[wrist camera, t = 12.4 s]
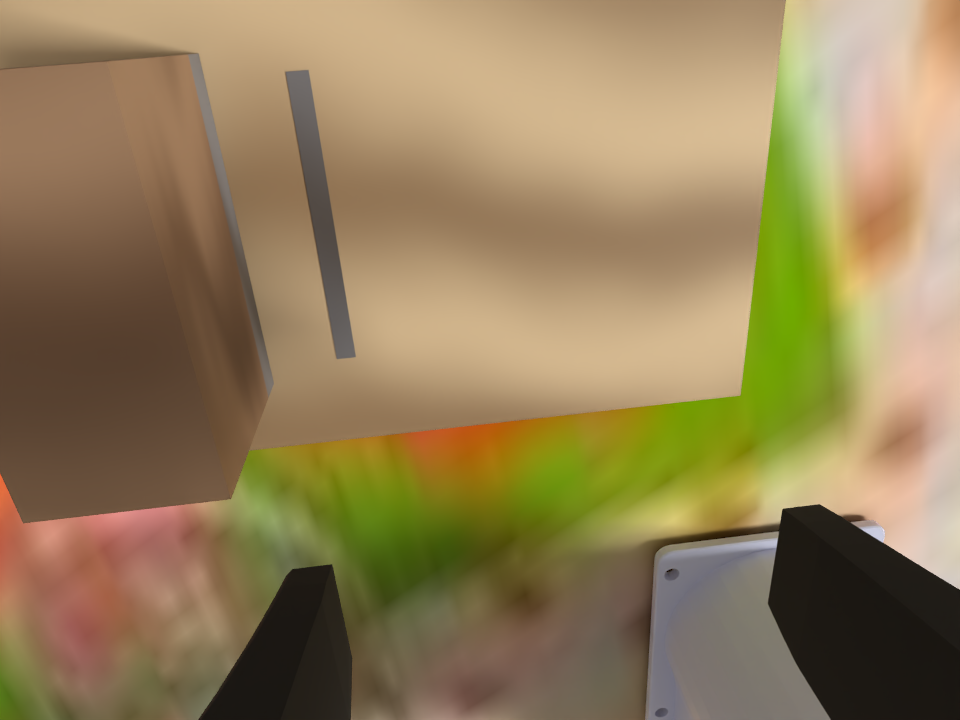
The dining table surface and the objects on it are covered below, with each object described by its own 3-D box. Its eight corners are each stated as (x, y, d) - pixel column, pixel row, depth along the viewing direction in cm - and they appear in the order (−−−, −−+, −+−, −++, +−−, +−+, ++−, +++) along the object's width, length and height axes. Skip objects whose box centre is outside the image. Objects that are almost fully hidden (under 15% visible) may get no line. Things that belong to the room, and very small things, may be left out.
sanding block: (273, 383, 18) (231, 499, 14) (119, 399, 18) (23, 523, 13) (198, 53, 14) (106, 61, 10) (5, 68, 14) (-179, 83, 10)
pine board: (725, 379, 21) (740, 395, 20) (45, 454, 19) (27, 475, 18) (773, -90, 15) (797, -98, 14) (-156, -28, 14) (-195, -33, 13)
